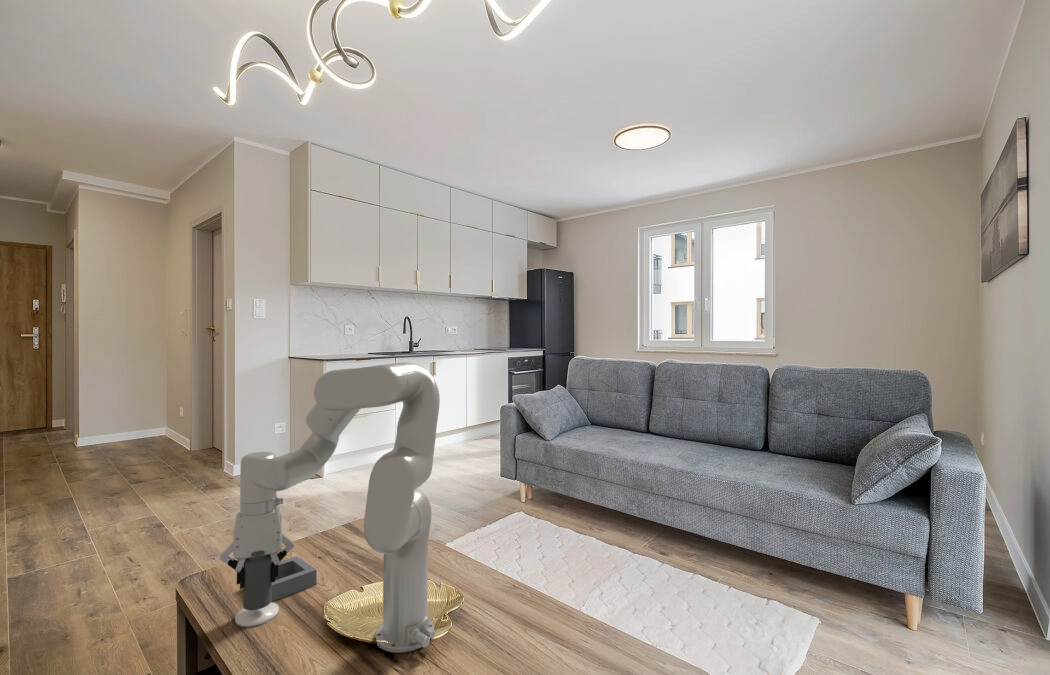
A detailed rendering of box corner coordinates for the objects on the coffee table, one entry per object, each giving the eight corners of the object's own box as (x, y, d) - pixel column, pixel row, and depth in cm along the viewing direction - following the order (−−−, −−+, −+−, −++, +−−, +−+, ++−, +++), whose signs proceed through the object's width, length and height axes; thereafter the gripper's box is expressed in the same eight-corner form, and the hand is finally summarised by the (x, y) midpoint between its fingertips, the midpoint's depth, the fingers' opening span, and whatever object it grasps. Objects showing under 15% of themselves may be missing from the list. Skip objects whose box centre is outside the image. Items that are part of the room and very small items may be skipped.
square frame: (316, 584, 130) (316, 569, 130) (268, 602, 121) (268, 586, 121) (296, 570, 138) (296, 556, 138) (250, 586, 129) (250, 570, 129)
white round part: (285, 615, 116) (285, 611, 116) (243, 631, 109) (243, 628, 109) (269, 601, 122) (269, 597, 122) (229, 616, 115) (229, 612, 115)
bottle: (262, 611, 112) (263, 545, 112) (237, 610, 113) (238, 544, 113) (276, 597, 118) (277, 535, 118) (252, 597, 118) (253, 534, 118)
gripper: (297, 496, 123) (297, 568, 123) (216, 506, 115) (215, 584, 115) (299, 505, 116) (299, 581, 116) (213, 517, 108) (212, 599, 108)
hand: (257, 582), depth 115 cm, fingers closed on bottle, 5 cm apart
